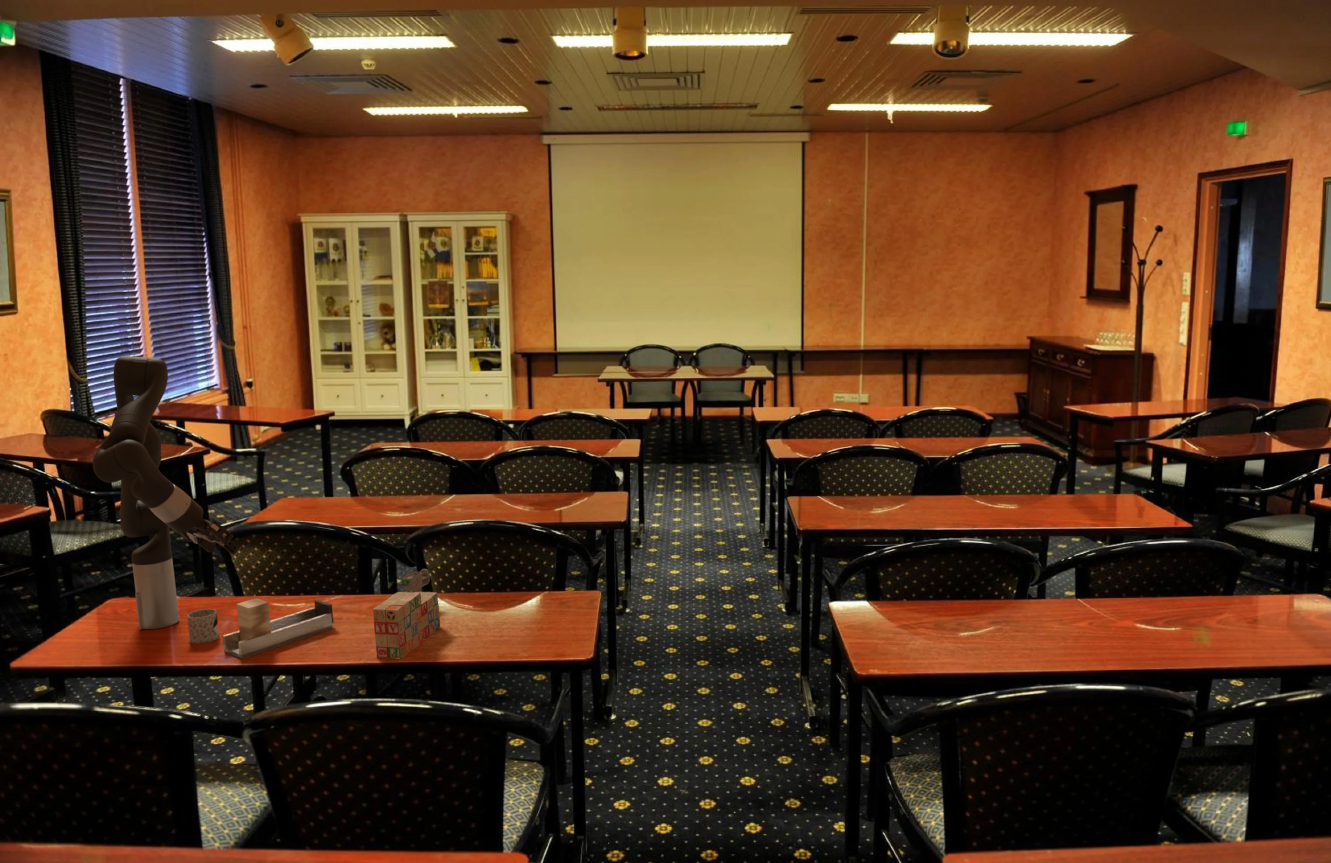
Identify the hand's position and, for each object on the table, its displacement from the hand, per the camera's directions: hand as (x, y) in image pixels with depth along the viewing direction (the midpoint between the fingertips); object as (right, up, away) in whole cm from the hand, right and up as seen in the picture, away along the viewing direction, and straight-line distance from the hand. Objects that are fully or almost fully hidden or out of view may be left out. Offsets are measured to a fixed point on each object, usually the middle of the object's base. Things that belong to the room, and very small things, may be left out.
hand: (224, 550), depth 227 cm
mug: (-13, -24, +17) cm, 32 cm away
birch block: (+4, -24, +8) cm, 25 cm away
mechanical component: (+37, -20, +32) cm, 53 cm away
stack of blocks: (+41, -24, +9) cm, 48 cm away
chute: (+8, -24, +13) cm, 28 cm away
